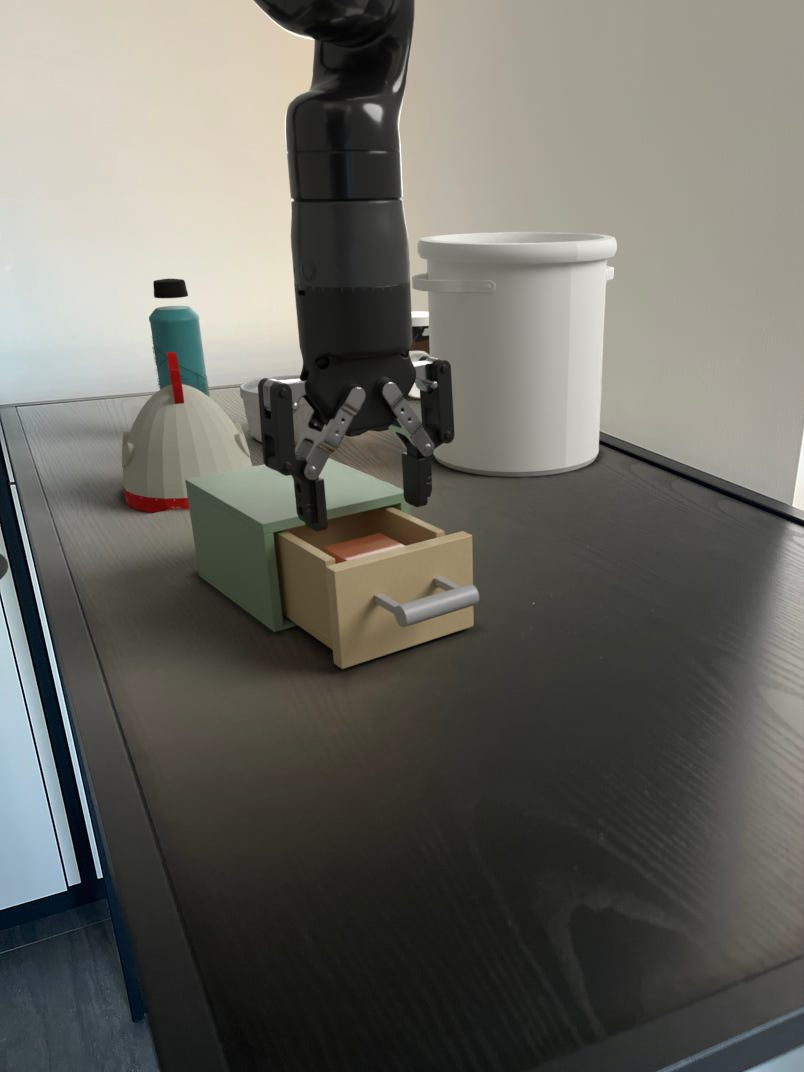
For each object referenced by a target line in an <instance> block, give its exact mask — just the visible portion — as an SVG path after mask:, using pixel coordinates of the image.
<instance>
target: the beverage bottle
mask: <svg viewBox="0 0 804 1072" xmlns="http://www.w3.org/2000/svg"><path fill="white" fill-rule="evenodd" d="M152 284H153V286H152V287H153V298H154V299H181V298H186V297H188V296H189V293H188V292H189V291H188V289H187V285H186V281H185V279H182V278H160V279H156V280H153V283H152ZM148 322H149V324H150V331H151V339H150V340H151V342H152V345H153V346H152V352H153V353H152V354H153V359H154V364H155V366H156V370H155V371H156V372H155V374H157V386H158V388H159V390H161V389H162V388H164V387H166V386H169V385H171V380H170V374H169V367H168V359H167V353H169V352H176V355H177V359H178V366H179V370H180V378H181V383H182V384H184V385H188V386H191V387H193V388H195V389H197V390H199V391H201V392H203V393H204V394H206V395H207V396H208V397H210V398H211V395H210V394H211V393H210V389H209V387H210V386H209V381H208V380H209V379H208V376H207V370H206V364H205V362H206V361H205V355H204V347H203V339H202V331H201V324H200V323H201V322H200V315H199V314H198V313H197V312H196V311H195V310H194V309H193V308H191V307H190V306H188V305H166V306H158V307H156V308H154V309H153V311H152V312H151V314H150V315H149V316H148Z"/></svg>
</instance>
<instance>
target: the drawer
mask: <svg viewBox="0 0 804 1072" xmlns="http://www.w3.org/2000/svg"><path fill="white" fill-rule="evenodd" d="M327 521H328V528H327V529H326V530H322V531H315V530H313V529H311V528H309V527H308V526H307V525H303V526H299V527H294V528H290V529H286V530H281V531H277V532H273V535H274V544H275V553H276V563H277V572H278V581H279V590H280V599H281V608H282V614H283V615H284V616H286V617H287V618H289V619H290V620H291V621H293V622H294V623H296V624H297V626H298V627H300V628H301V629H302V630H304V631H305V632H307V633H308V634H310V635H311V636H313V638H315V639H316V640H318V641H320V642H321V643H322V644H324V645H325V646H326V647H327V648H329V649H331V650H332V656H333V663H334V665H335V666H336V667H338V668H340V669H341V670H344V669H348V668H350V667H353V666H355V665H359V664H363V663H365V662H368V661H369V662H370V661H371V660H374V659H377V658H381V657H383V656H384V657H385V656H387V655H390V654H393V653H396V652H398V651H402V650H405V649H408V648H411V647H414V646H418V645H421V644H424V643H427V642H429V641H430V642H431V641H432V640H436V639H438V638H441V637H444V636H448V635H451V634H454V633H457V632H460V631H464V630H466V629H470V628H473V627H474V626H475V625H474V624H475V623H474V606H476V605H478V604H479V601H480V593H479V591H478V588H477V587H476V586H475V585H474V565H473V563H474V562H473V560H474V558H473V555H474V553H473V535H472V534H470V533H468V532H467V531H464V530H461V531H457V532H454V533H450V534H446V533H445V530H444V529H441V528H440V527H437V526H435V525H432V524H431V523H428V522H426V521H424V520H422V519H419V518H417V517H415V516H413V515H411V514H410V513H409V514H406V513H404V512H402V511H400V510H398V509H395V508H393V507H391V506H385V507H381V508H377V509H372V510H368V511H364V512H359V513H355V514H351V515H346V516H342V517H338V518H333V519H329V520H327ZM378 533H381V534H383V535H385V536H387V537H389V538H391V539H393V540H395V541H397V542H399V543H401V544H403V545H405V546H403V547H399V548H395V549H392V550H388V551H384V552H380V553H376V554H372V555H369V556H365V557H361V558H357V559H353V560H349V561H345V562H342V563H338V564H335V558H333V557H331V556H329V555H328V554H326V553H324V552H323V547H326V546H330V545H334V544H338V543H342V542H346V541H350V540H354V539H358V538H362V537H366V536H370V535H374V534H378Z"/></svg>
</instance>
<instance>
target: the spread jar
mask: <svg viewBox="0 0 804 1072" xmlns="http://www.w3.org/2000/svg"><path fill="white" fill-rule="evenodd" d="M411 314H412V340H413V341H412V345H411V347H410V349H409V355H410V358H411V361H412V363H413V362H418V361H419V359H420V358H421V357H422V356H429V357H430V345H429V312H428V311H411ZM408 397H411V398H413V399H419V400H420V390H419V389H418V388H417V387H416V384H415V383H414V385H413V387H412V389H411V391H410V393H409V395H408Z"/></svg>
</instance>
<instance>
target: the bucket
mask: <svg viewBox="0 0 804 1072" xmlns="http://www.w3.org/2000/svg"><path fill="white" fill-rule="evenodd" d="M416 247H417V248H416V249H417V254H418V255H419V257H420V259H423V260H426V272H425V273H418V274H415V275H413V276H412V277H411V283H412V285H411V286H412V289H413V290H416V291H420V292H427V309H428V310H427V312H429V345H430V357H434V358H438V359H442V360H446V361H448V362H449V363H450V365H451V378H452V396H453V414H454V432H455V436H454V439H453V441H452V442H451V443H448V444H446V443H443V444H441V445H440V446H438V447H437V448H436V449H435V450H434V452H433V454H432V455H433V456H434V459H435V460H436V461H437V462H438V463H439V464H441V465H443V466H445V467H446V468H449V469H452V470H455V471H459V472H463V473H468V474H474V475H480V476H487V477H488V476H489V477H501V478H502V477H505V478H507V477H508V478H525V477H540V476H541V477H543V476H551V475H558V474H563V473H569V472H572V471H577V470H579V469H581V468H584V467H587V466H588V465H590V464H592V463H593V462H594V461H595V460H596V459H597V457H598V454H599V451H600V427H601V426H600V425H601V408H602V407H601V405H602V383H603V362H604V361H603V359H604V335H605V333H604V332H605V315H606V314H605V313H606V292H607V291H606V290H607V283H608V281H612V280H613V279H614V276H615V267H614V266H610V265H608V259H610V258H612V257H615V255H616V253H617V251H618V241H617V239H616V237H615V236H612V235H608V234H601V233H599V234H598V233H585V232H584V233H583V232H559V231H558V232H557V231H556V232H555V231H498V232H494V231H493V232H469V233H451V234H439V235H432V236H431V235H429V236H424V237H421V238H419V240H418V242H417V246H416Z"/></svg>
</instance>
